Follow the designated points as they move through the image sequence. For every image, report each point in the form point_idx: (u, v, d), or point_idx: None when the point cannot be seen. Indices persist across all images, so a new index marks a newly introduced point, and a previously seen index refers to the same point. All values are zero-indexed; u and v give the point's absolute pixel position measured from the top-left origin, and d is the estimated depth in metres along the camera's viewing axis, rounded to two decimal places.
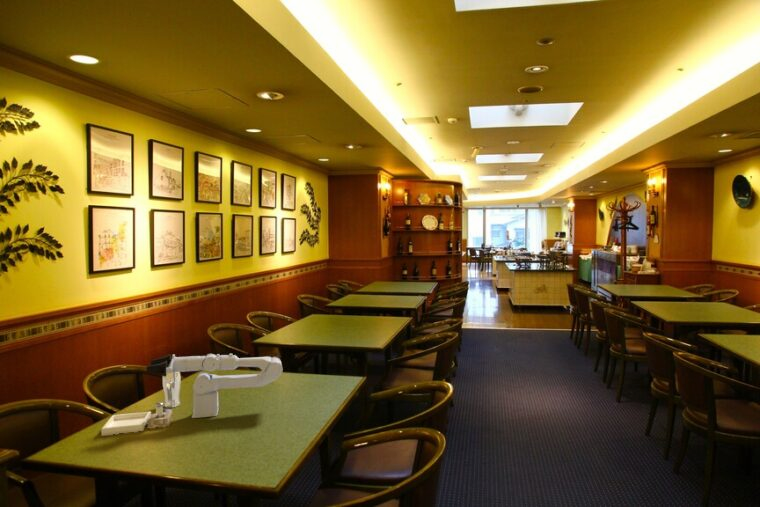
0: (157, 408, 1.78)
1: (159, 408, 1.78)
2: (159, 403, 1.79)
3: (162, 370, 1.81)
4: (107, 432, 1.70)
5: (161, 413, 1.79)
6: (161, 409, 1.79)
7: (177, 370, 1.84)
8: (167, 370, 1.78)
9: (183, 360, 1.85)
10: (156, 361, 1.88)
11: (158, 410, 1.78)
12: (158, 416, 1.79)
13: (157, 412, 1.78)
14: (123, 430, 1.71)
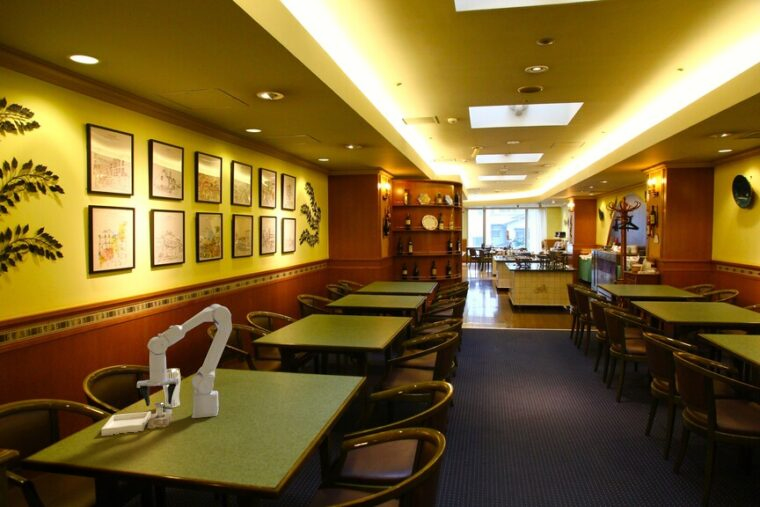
0: (157, 408, 1.78)
1: (159, 408, 1.78)
2: (159, 403, 1.79)
3: None
4: (107, 432, 1.70)
5: (161, 413, 1.79)
6: (161, 409, 1.79)
7: None
8: (178, 382, 1.81)
9: (162, 372, 1.77)
10: (147, 400, 1.78)
11: (158, 410, 1.78)
12: (158, 416, 1.79)
13: (157, 412, 1.78)
14: (123, 430, 1.71)
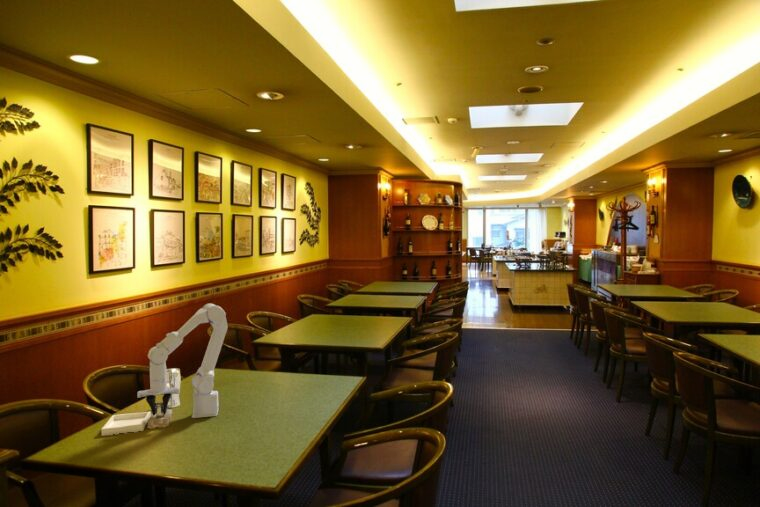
0: (157, 408, 1.78)
1: (159, 408, 1.78)
2: (159, 403, 1.79)
3: None
4: (107, 432, 1.70)
5: (161, 413, 1.79)
6: (161, 409, 1.79)
7: None
8: (179, 392, 1.81)
9: (162, 382, 1.78)
10: (154, 409, 1.79)
11: (158, 410, 1.78)
12: (158, 416, 1.79)
13: (157, 412, 1.78)
14: (123, 430, 1.71)
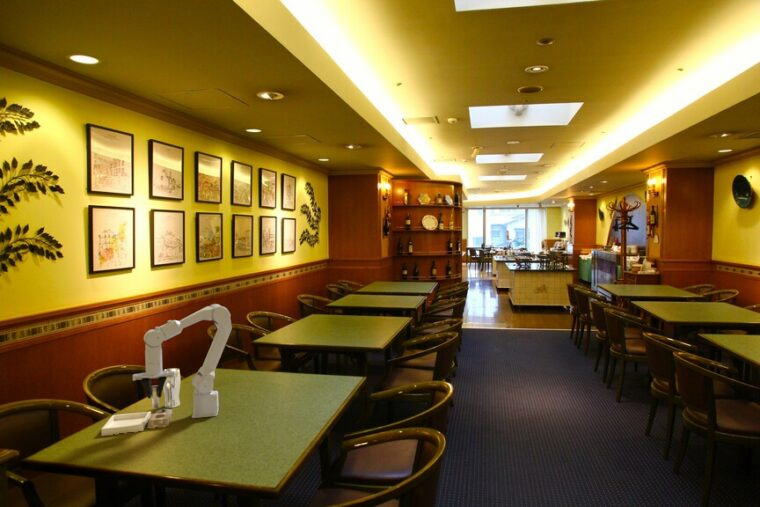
0: (152, 391, 1.78)
1: (155, 391, 1.78)
2: (154, 386, 1.79)
3: None
4: (107, 432, 1.70)
5: (157, 396, 1.79)
6: (156, 392, 1.79)
7: None
8: (174, 375, 1.80)
9: (158, 365, 1.77)
10: None
11: (153, 393, 1.78)
12: (154, 399, 1.78)
13: (152, 395, 1.78)
14: (123, 430, 1.71)
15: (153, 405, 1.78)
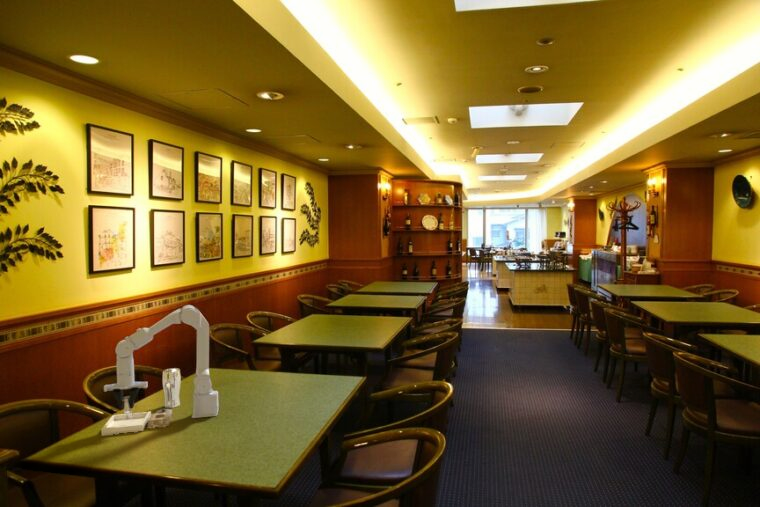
0: (124, 402, 1.76)
1: (126, 402, 1.77)
2: (126, 397, 1.77)
3: None
4: (107, 432, 1.70)
5: (129, 407, 1.77)
6: (129, 403, 1.77)
7: None
8: (146, 386, 1.79)
9: (129, 375, 1.76)
10: (121, 403, 1.77)
11: (125, 404, 1.76)
12: (126, 410, 1.77)
13: (125, 407, 1.77)
14: (123, 430, 1.71)
15: (126, 416, 1.77)
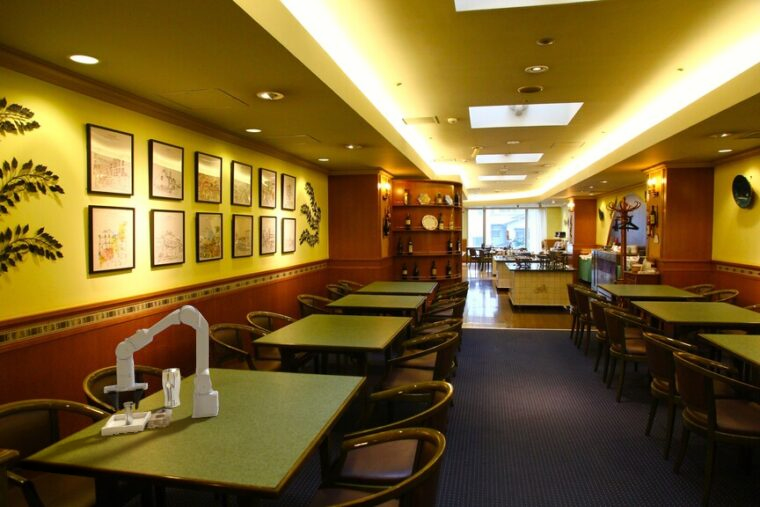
0: (126, 408, 1.77)
1: (128, 408, 1.77)
2: (128, 403, 1.78)
3: None
4: (107, 432, 1.70)
5: (130, 413, 1.77)
6: (130, 409, 1.77)
7: None
8: (147, 387, 1.79)
9: (129, 377, 1.76)
10: (116, 405, 1.76)
11: (127, 410, 1.77)
12: (127, 416, 1.77)
13: (126, 412, 1.77)
14: (123, 430, 1.71)
15: (126, 422, 1.77)
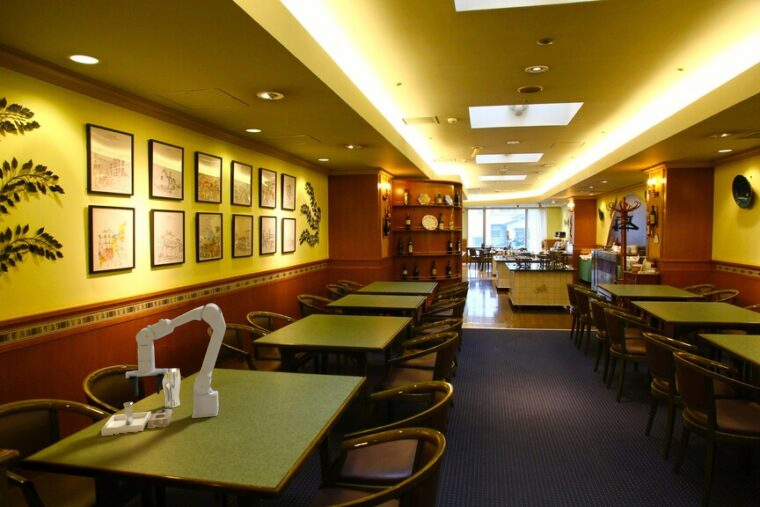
0: (126, 408, 1.77)
1: (128, 408, 1.77)
2: (128, 403, 1.78)
3: None
4: (107, 432, 1.70)
5: (130, 413, 1.77)
6: (130, 409, 1.77)
7: None
8: (167, 372, 1.84)
9: (150, 362, 1.81)
10: (136, 390, 1.81)
11: (127, 410, 1.77)
12: (127, 416, 1.77)
13: (126, 412, 1.77)
14: (123, 430, 1.71)
15: (126, 422, 1.77)
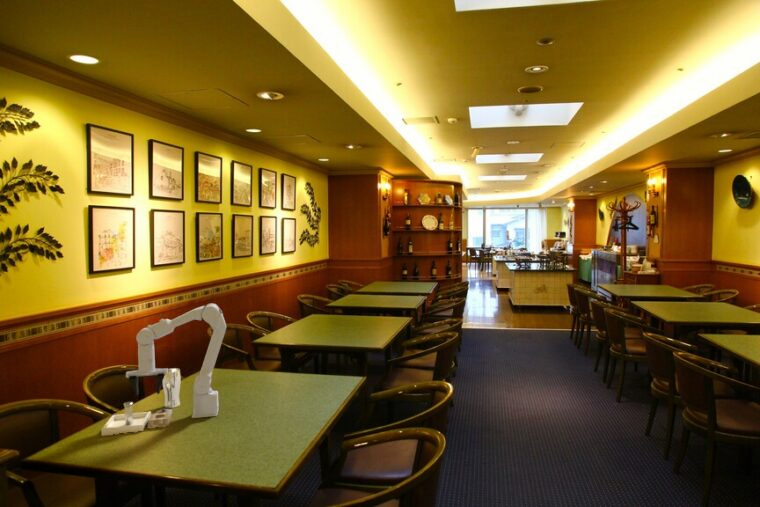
0: (126, 408, 1.77)
1: (128, 408, 1.77)
2: (128, 403, 1.78)
3: None
4: (107, 432, 1.70)
5: (130, 413, 1.77)
6: (130, 409, 1.77)
7: None
8: (167, 372, 1.84)
9: (150, 362, 1.81)
10: (136, 390, 1.82)
11: (127, 410, 1.77)
12: (127, 416, 1.77)
13: (126, 412, 1.77)
14: (123, 430, 1.71)
15: (126, 422, 1.77)
